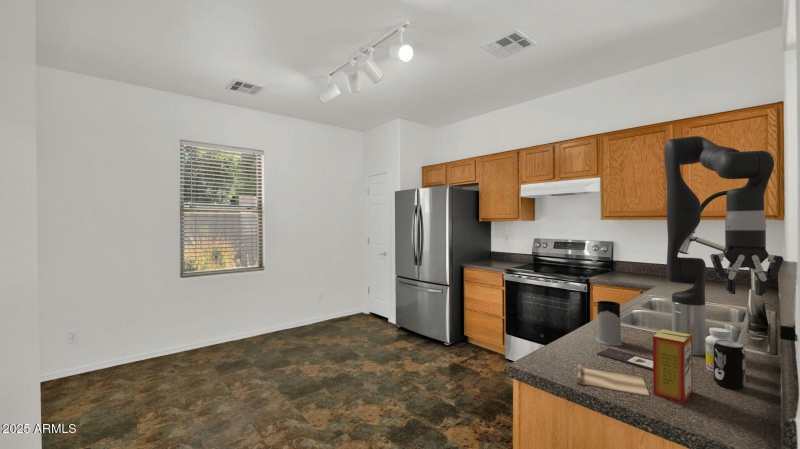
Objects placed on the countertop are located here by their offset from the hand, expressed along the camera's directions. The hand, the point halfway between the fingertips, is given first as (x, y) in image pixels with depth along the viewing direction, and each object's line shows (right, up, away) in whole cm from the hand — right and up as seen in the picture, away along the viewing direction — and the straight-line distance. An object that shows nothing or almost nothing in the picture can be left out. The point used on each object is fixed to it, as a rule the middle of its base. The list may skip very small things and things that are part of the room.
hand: (745, 294), depth 91 cm
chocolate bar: (-12, -28, +27) cm, 40 cm away
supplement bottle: (+9, -27, +17) cm, 33 cm away
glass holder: (-7, -27, +47) cm, 55 cm away
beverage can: (+3, -28, +8) cm, 29 cm away
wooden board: (-28, -28, +11) cm, 41 cm away
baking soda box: (-16, -28, +4) cm, 32 cm away
